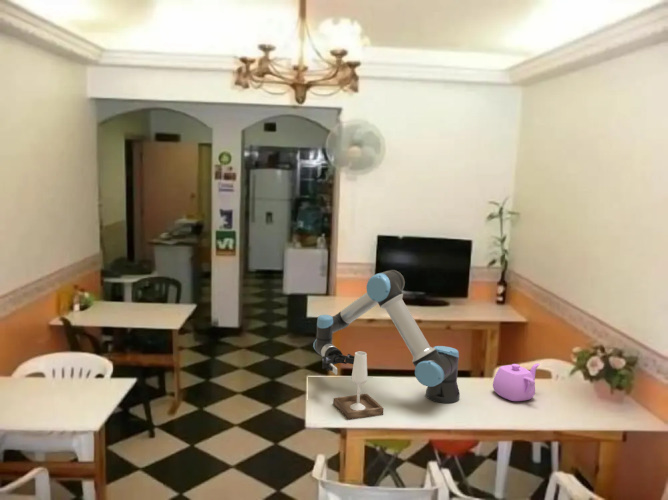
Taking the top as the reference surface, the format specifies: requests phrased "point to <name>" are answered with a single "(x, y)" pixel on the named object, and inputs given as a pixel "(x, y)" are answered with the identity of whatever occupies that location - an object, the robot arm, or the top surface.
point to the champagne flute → (359, 376)
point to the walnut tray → (369, 411)
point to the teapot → (515, 382)
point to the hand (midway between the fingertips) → (350, 370)
